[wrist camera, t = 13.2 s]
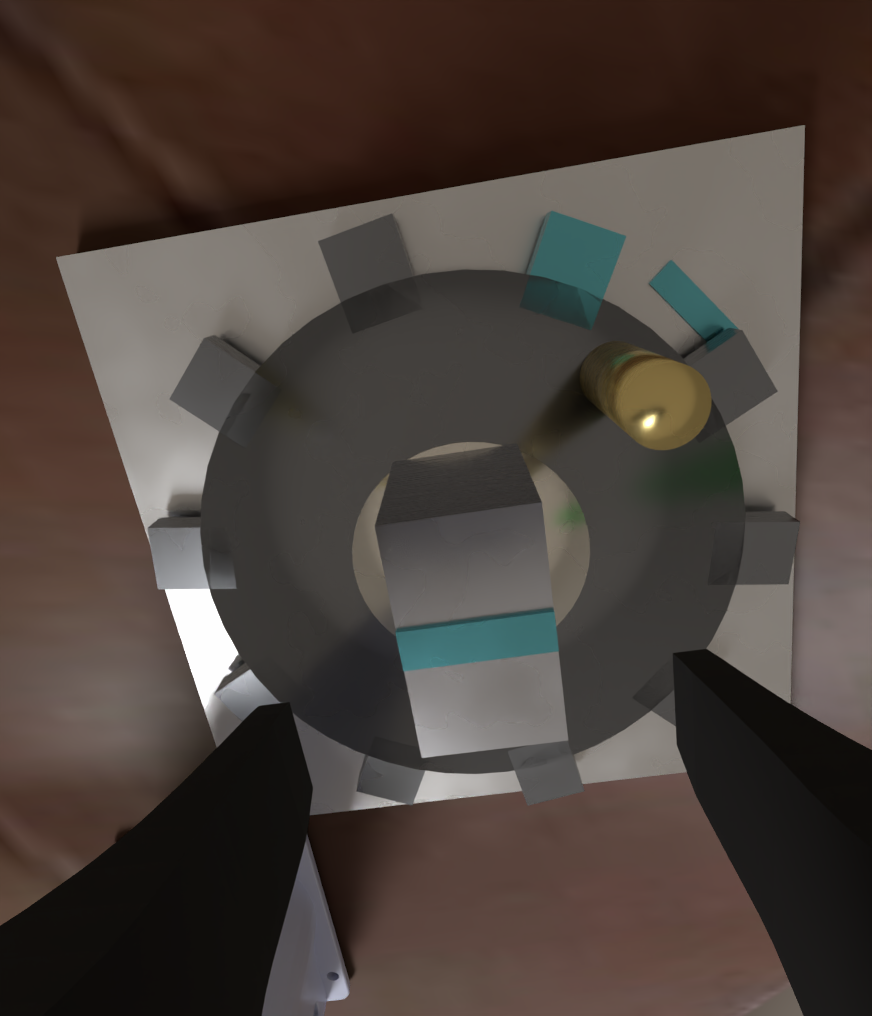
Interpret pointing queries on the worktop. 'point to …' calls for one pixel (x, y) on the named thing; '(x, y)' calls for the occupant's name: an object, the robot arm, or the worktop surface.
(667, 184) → the base plate
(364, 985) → the worktop surface
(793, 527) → the sprocket
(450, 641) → the link block
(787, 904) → the robot arm
